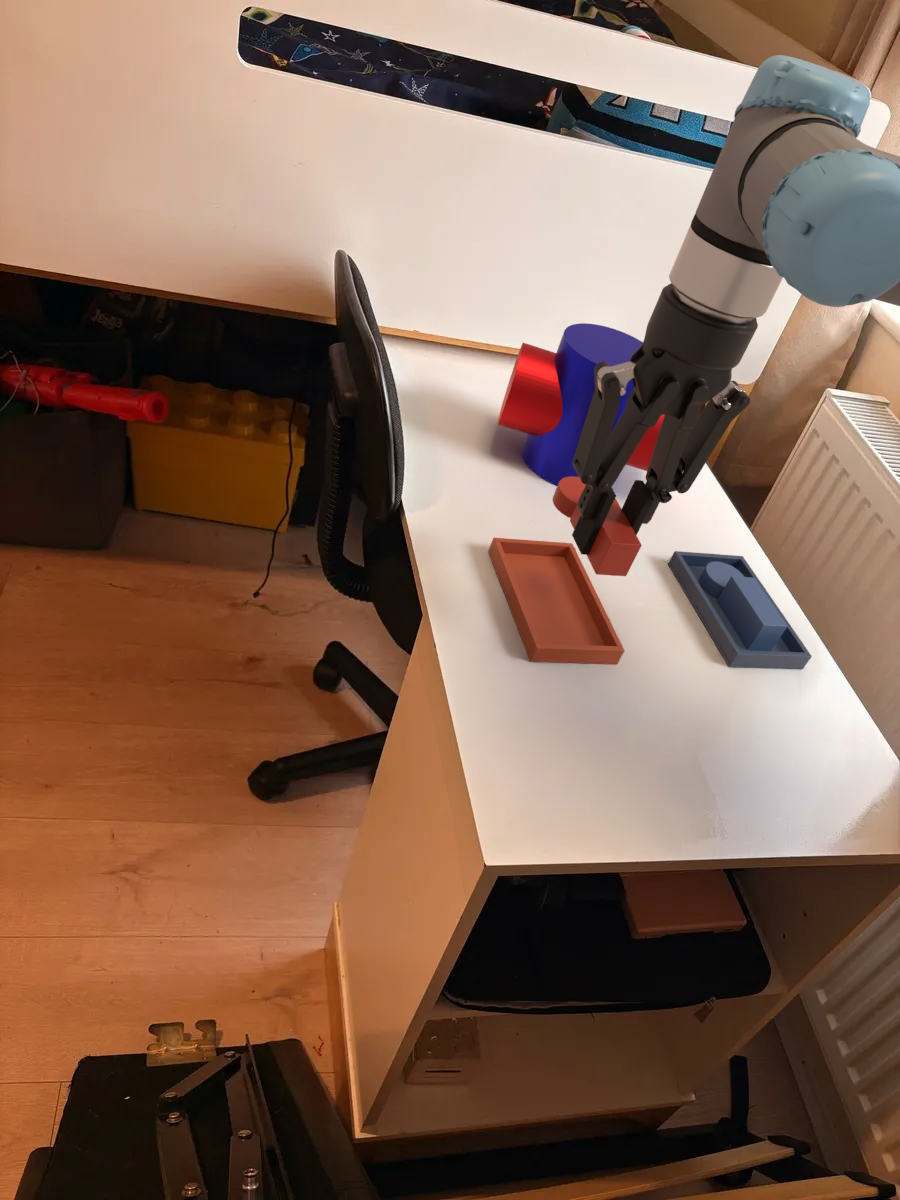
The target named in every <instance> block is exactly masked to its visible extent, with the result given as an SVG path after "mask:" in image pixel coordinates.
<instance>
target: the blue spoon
mask: <svg viewBox="0 0 900 1200" xmlns="http://www.w3.org/2000/svg"><path fill="white" fill-rule="evenodd" d="M699 581H700V584H701V586H702V588H703V589H704V590H705V591H706V592H707V593H709V594H710V595H711V596H713V597H715V598H717V601H718V603H719V605H720V606H721V608H722V609H723V611H724V613H725V614H726V616H727V618H728V619H729V621H730V622H731V624H732V626H733V627H734V629H735V630H736V632H737V634H738V635H739V637H740V638H741V640H742V642H743V643H744V645H745V646H746V648H747V649H748V650H772V648H773V647H774V645H775V644H776V643H777V641H778V640H779V638H780V637H781V635H782V634H783V632H784V631H785V629H786V628H787V624H786V623H785V622H784V620H783V619H782V617H781V616H780V614H779V613H778V611H777V610H776V608H775V607H774V605H773V604H772V603H771V601H770V600H769V598H768V597H767V595H766V594H765V592H764V591H763V589H762V588H761V586H760V585H759V584H758V582H757V581H756V579H755V578H753V577H744V576H743V574H742V573H741V572H740V571H738V570H737V569H736V568H734V567H733V566H731V565H729V564H726V563H723V562H716V561H715V562H710V563H708V564H707V565H706V567H705V569H704V571H703V572H702V574H701V576H700V578H699Z"/></svg>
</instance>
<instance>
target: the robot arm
mask: <svg viewBox="0 0 900 1200" xmlns="http://www.w3.org/2000/svg"><path fill="white" fill-rule="evenodd" d="M870 104H871V93H870V90H869V88H868V87H867V86H865V84H863V83H862V82H861V81H857V80H856V79H854V78H852V77H849V76H848V75H846V74H843V73H841V72H838V71H835V70H833V69H830V68H827V67H825V66H822V65H819V64H816V63H813V62H810V61H806V60H804V59H800V58H796V57H793V56H788V55H782V54H777V55H773V56H769V58H766V59H765V60H764V61H763V62H762V63H761V64H760V65H759V67H758V68H757V70H756V72H755V74H754V76H753V78H752V80H751V82H750V84H749V86H748V88H747V90H746V92H745V94H744V96H743V98H742V100H741V102H740V104H738V105H737V106H736V108H735V111H734V116H733V117H734V119H733V121H732V124H731V125H730V127H729V128H730V129H729V130H728V134H727V135H726V138H725V141H724V143H723V146H722V148H721V150H720V152H719V155H718V157H717V159H716V162H715V165H714V166H713V170H712V172H711V174H710V176H709V179H708V181H707V184H706V186H705V188H704V191H703V193H702V196H701V198H700V200H699V203H698V205H697V208H696V210H695V214H694V215H693V218H692V220H691V222H690V225H689V228H688V230H687V232H686V235H685V237H684V240H683V242H682V244H681V246H680V249H679V251H678V252H677V255H676V258H675V261H674V263H673V265H672V267H671V270H670V271H669V274H668V279H669V281H670V283H668V284H667V285H665V286H664V287H663V288H662V289H661V292H660V293H659V297H658V299H657V301H656V303H655V306H654V308H653V311H652V312H651V315H650V318H649V320H648V322H647V325H646V329H645V334H644V338H643V341H642V342H643V343H642V345H641V346H640V347H639V348H638V349H637V350H636V351H635V352H634V353H633V354H632V356H631V357H630V360H629V362H625V363H622V364H618V365H614V366H611V367H610V366H609V364H608V363H607V362H604V361H603V362H599V363H598V364H597V365H596V366H595V368H594V378H595V391H594V394H593V398H592V401H591V404H590V407H589V410H588V414H587V417H586V420H585V423H584V427H583V430H582V433H581V436H580V439H579V443H578V446H577V449H576V452H575V456H574V459H573V463H572V464H573V466H574V468H575V470H576V472H577V474H578V476H579V478H580V479H581V481H582V483H583V484H586V486H585V488H584V491H583V493H582V495H581V497H580V500H579V502H578V511H579V513H580V515H581V516H580V518H579V520H578V522H577V525H576V527H575V529H574V528H573V531H572V534H571V536H572V539H573V540H574V542H575V544H576V547H577V549H578V551H579V553H580V555H584V556H585V555H586V556H587V555H589V553H590V551H591V548H592V546H593V544H594V542H595V540H596V537H597V535H598V533H599V531H600V529H601V527H602V526H603V523H604V521H605V519H606V517H607V515H608V513H609V510H610V508H611V506H612V504H613V502H614V500H615V498H617V494H616V493H615V491H614V489H613V488H612V487H613V486H614V484H615V482H616V481H617V479H618V478H619V476H620V474H621V473H622V471H623V470H624V468H625V467H626V466H627V465H626V463H627V462H628V460H629V458H630V457H631V455H632V454H633V452H634V451H635V449H636V447H637V446H638V444H639V443H640V441H641V439H642V438H643V436H644V435H645V433H646V431H647V430H648V428H649V427H653V426H655V424H656V423H657V421H658V420H659V418H660V416H661V415H664V414H665V416H664V419H663V422H662V425H661V429H660V432H659V435H658V438H657V441H656V445H655V448H654V451H653V454H652V457H651V461H650V464H649V467H648V470H647V471H646V473H645V480H646V481H644V480H639V479H635V480H634V482H633V484H632V486H631V488H630V490H629V493H628V494H627V496H626V498H625V500H624V502H623V505H622V507H621V509H622V511H623V513H624V514H625V516H626V518H627V520H628V522H629V523H630V525H631V527H632V529H633V530H634V532H635V534H636V536H637V535H638V533H639V531H640V529H641V527H642V526H643V525H648V523H650V522H651V520H652V519H653V517H654V515H655V513H656V511H657V509H658V507H659V504H660V503H661V504H667V503H669V502H670V501H672V499H673V496H672V494H671V493H673V492H677V493H678V494H686V493H687V492H688V491H690V489H691V488H692V486H693V484H694V483H695V481H696V479H697V478H698V476H699V474H700V472H701V471H702V470H703V468H704V466H705V465H706V463H707V461H708V460H709V458H710V457H711V455H712V453H713V452H714V450H715V448H716V447H717V445H718V444H719V442H720V441H721V439H722V437H723V436H724V434H725V432H726V431H727V430H728V428H729V426H730V425H731V423H732V421H734V419H736V418H737V417H738V416H739V415H740V414H741V413H742V412H743V411H744V410H745V409H747V407H748V406H749V405H750V403H751V397H750V396H749V395H748V394H747V393H746V391H745V390H744V389H743V388H742V386H740V384H739V383H738V382H737V381H736V380H732V377H733V376H732V372H733V371H732V370H733V369H734V368H736V367H737V366H738V365H739V364H740V362H741V360H742V359H743V357H744V355H745V353H746V351H747V349H748V347H749V345H750V343H751V341H752V340H753V337H754V336H755V333H756V331H757V329H758V326H759V325H758V319H757V318H760V317H762V316H764V315H765V314H766V313H767V311H768V309H769V307H770V305H771V304H772V301H773V299H774V297H775V295H776V293H777V291H778V289H779V287H780V285H781V283H782V280H783V279H784V280H785V282H786V284H787V285H789V286H791V287H792V288H794V289H795V290H796V291H798V293H799V294H801V296H803V297H805V298H806V299H808V300H810V301H811V302H814V303H816V304H817V305H821V306H826V307H830V308H831V307H832V308H843V307H846V306H853V305H857V304H860V303H861V304H862V303H867V302H870V301H872V300H876V301H878V302H879V301H880V302H882V303H887V304H890V305H894V306H898V307H900V155H897V154H893V153H891V152H888V151H884V150H881V149H878V148H876V147H873V146H871V145H868V144H866V143H864V142H862V141H860V140H859V139H857V138H858V137H859V135H860V134H861V132H862V125H863V122H864V120H865V117H866V114H867V112H868V109H869V108H870ZM631 379H632V381H633V385H634V389H633V390H632V392H631V394H630V395H629V397H628V399H627V402H626V409H625V411H624V412H623V414H622V416H621V417H620V419H619V421H618V422H617V424H616V426H615V427H614V429H613V431H612V432H611V430H612V427H613V424H614V421H615V418H616V415H617V412H618V408H619V404H620V396H623V395H624V394H625V393H626V387H627V384H628V382H629V381H630V380H631ZM704 405H705V406H704ZM703 406H704V408H703V409H702V407H703ZM701 410H702V411H701ZM700 412H701V413H700ZM610 433H611V434H610Z"/></svg>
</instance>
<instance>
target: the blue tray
mask: <svg viewBox="0 0 900 1200" xmlns="http://www.w3.org/2000/svg"><path fill="white" fill-rule="evenodd" d="M715 561H716V562H723V563H726V564H729V565H731V566H733V567H734V568H736V569H737V570H738V571H740V572H741V573H742V574H743V576H744V577H753V578H755V579H756V581H757V582H758V584H759V585H760V586H761V588H762V589H763V591H764V592H765V594H766V595H767V597H768V598H769V600H770V601H771V603H772V604H773V605H774V607H775V608H776V610H777V611H778V613H779V614H780V616H781V617H782V619H783V620H784V622H785V623H786V624H787V628H786V629H785V631H784V632H783V634H782V635H781V637H780V638H779V640H778V641H777V643H776V644H775V645H774V647H773V648H772V650H748V649H747V648H746V646H745V645H744V643H743V642H742V640H741V638H740V637H739V635H738V634H737V632H736V630H735V629H734V627H733V626H732V624H731V622H730V621H729V619H728V618H727V616H726V614H725V613H724V611H723V609H722V608H721V606H720V605H719V603H718V601H717V598H715V597H713V596H711V595H710V594H709V593H707V592H706V591H705V590H704V589H703V588H702V586H701V584H700V581H699V578H700V576H701V574H702V572H703V571H704V569H705V567H706V565H707V564H708V563H710V562H715ZM667 565H668V566H669V568H670V570H671V571H672V573H673V575H674V577H675V579H676V580H677V581H678V583H679V585H680V587H681V589H682V590H683V592H684V594H685V595H686V597H687V598H688V600H689V602H690V603H691V605H692V607H693V608H694V610H695V612H696V614H697V615H698V617H699V619H700V621H701V622H702V624H703V626H704V627H705V629H706V631H707V632H708V634H709V635H710V637H711V639H712V641H713V642H714V644H715V646H716V647H717V649H718V651H719V652H720V654H721V656H722V658H723V659H724V661H725V662H726V664H727V666H728V667H729V668H749V669H750V668H751V669H786V670H787V669H789V670H790V669H791V670H803V669H804V668H805V666H806V665H807V664H808V663H809V661H810V660H811V659H812V656H813V655H812V654H811V653H810V651H809V650H808V649H807V647H806V646H805V644H804V643H803V641H802V640H801V638H800V637H799V636H798V634H797V633H796V631H795V630H794V628H793V627H792V626H791V624H790V623H789V621H788V620H787V618H786V617H785V616H784V614H783V613H782V611H781V610H780V608H779V606H778V604H776V602H775V600H773V599H774V598H772V596H771V595H770V594H769V592H768V591H767V589H766V588H765V586H764V585H763V583H762V582H761V580H760V579H759V577H758V576H757V575H756V573H755V572H754V570H753V568H752V567H751V566H750V565H749V563H748V561H747V560H746V559H745V558H744V556H743V555H733V554H732V555H731V554H721V553H719V554H718V553H708V552H707V553H706V552H692V551H678V550H675V551H674V552H673V553H672V555H671V557H670V559H669V561H668V562H667Z"/></svg>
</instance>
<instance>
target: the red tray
mask: <svg viewBox="0 0 900 1200" xmlns="http://www.w3.org/2000/svg"><path fill="white" fill-rule="evenodd" d="M488 554H489V557H490V559H491V562H492V565H493V567H494V570H495V572H496V575H497V577H498V580H499V583H500V586H501V588H502V591H503V593H504V596H505V598H506V599H505V600H506V601H507V604H508V606H509V609H510V612H511V614H512V618H513V620H514V622H515V626H516V628H517V630H518V633H519V636H520V638H521V640H522V643H523V647H524V648H525V652H526V654H527V657H528V659H529V661H530V663H555V664H556V663H557V664H558V663H559V664H560V663H561V664H595V665H597V664H598V665H599V664H600V665H618V664H619V662H620V660H621V658H622V656H623V655H624V653H625V648H624V647H623V645H622V642H621V640H620V638H619V635H618V634H617V632H616V630H615V627H614V626H613V623H612V622H611V619H610V618H609V616H608V613H607V611H606V609H605V607H604V605H603V603H602V601H601V599H600V597H599V595H598V593H597V592H596V589H595V587H594V585H593V583H592V581H591V579H590V577H589V574H588V573H587V571H586V569H585V566H584V565H583V562H582V561H581V558H580V556H579V555H578V551H577V550H576V549H575V546H574V544H573V543H572V542H558V541H547V540H546V541H545V540H533V539H532V540H530V539H519V538H518V539H517V538H505V537H493V538H492V540H491V542H490V546H489V548H488Z"/></svg>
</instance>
